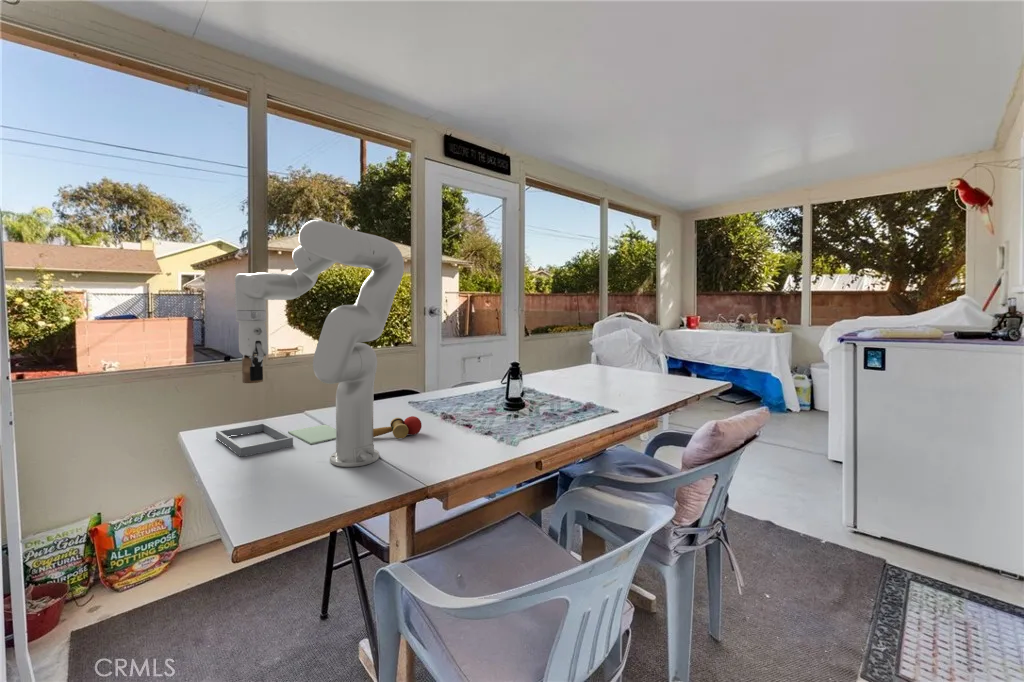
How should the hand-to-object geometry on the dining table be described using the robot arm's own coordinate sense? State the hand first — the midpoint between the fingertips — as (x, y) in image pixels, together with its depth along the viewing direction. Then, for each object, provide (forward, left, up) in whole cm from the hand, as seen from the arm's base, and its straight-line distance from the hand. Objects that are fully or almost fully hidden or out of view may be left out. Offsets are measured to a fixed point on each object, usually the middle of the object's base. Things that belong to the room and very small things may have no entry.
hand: (252, 378), depth 131 cm
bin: (0, 0, -19) cm, 19 cm away
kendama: (-22, -33, -20) cm, 44 cm away
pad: (-5, -17, -19) cm, 26 cm away
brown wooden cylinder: (0, 0, -1) cm, 1 cm away
